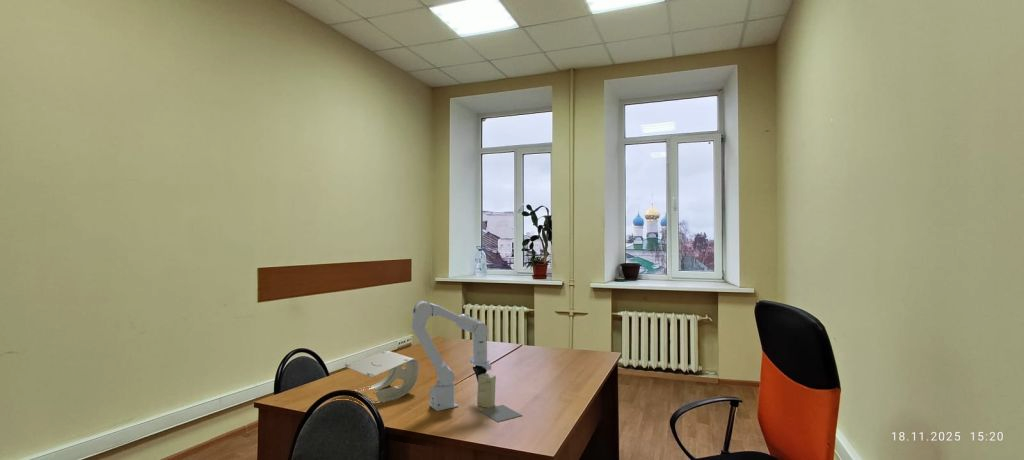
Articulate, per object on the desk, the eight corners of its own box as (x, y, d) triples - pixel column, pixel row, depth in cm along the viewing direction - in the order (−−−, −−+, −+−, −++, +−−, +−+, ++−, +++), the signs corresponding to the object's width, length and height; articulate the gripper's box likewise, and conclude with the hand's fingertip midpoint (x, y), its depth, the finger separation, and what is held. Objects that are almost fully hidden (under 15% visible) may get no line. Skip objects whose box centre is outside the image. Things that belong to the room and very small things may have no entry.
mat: (497, 422, 170) (497, 421, 170) (479, 411, 182) (479, 410, 182) (522, 415, 176) (522, 415, 176) (502, 405, 188) (502, 404, 188)
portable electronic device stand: (420, 393, 205) (419, 358, 205) (370, 406, 188) (370, 368, 189) (390, 381, 223) (390, 349, 224) (343, 392, 207) (343, 357, 207)
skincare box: (476, 405, 188) (477, 375, 188) (482, 402, 191) (482, 372, 192) (490, 408, 185) (490, 378, 185) (495, 404, 188) (496, 375, 189)
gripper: (497, 352, 189) (497, 386, 189) (479, 346, 201) (480, 377, 201) (482, 355, 185) (482, 389, 185) (465, 348, 197) (466, 380, 197)
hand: (480, 383), depth 192 cm, fingers closed
